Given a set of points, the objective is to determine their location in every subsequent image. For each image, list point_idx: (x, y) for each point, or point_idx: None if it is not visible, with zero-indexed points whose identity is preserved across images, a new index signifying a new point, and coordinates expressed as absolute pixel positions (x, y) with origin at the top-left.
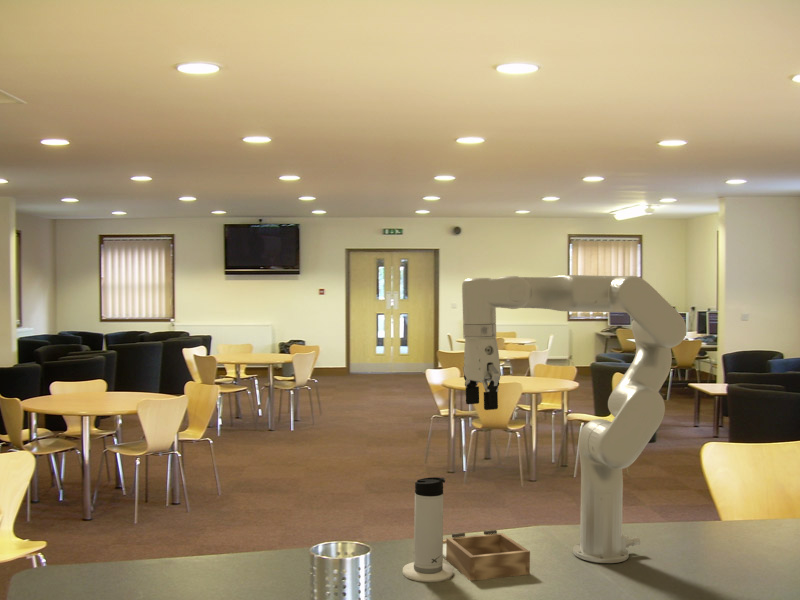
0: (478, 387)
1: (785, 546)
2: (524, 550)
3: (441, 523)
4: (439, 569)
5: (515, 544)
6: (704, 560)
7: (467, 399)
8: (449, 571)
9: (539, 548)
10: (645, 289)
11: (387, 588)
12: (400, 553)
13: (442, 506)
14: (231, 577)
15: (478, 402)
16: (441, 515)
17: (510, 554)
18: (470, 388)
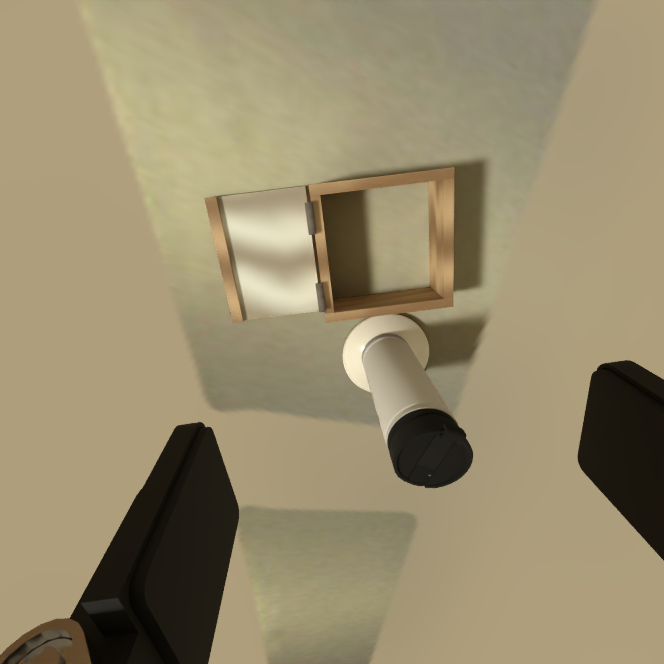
0: (126, 585)
1: None
2: (444, 177)
3: (428, 378)
4: (407, 343)
5: (399, 183)
6: None
7: (230, 550)
8: (404, 323)
9: (277, 71)
10: None
11: None
12: (276, 377)
13: (437, 395)
14: (345, 577)
15: (210, 432)
16: (433, 387)
17: (453, 217)
18: (187, 661)
